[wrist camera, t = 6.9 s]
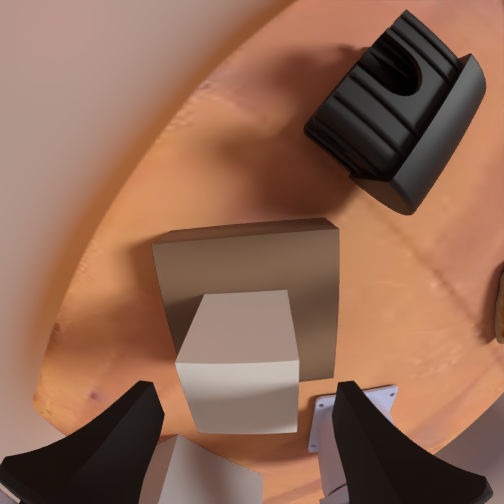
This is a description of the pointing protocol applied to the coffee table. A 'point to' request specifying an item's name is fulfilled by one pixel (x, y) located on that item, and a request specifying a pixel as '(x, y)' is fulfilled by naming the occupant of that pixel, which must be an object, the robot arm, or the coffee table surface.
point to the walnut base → (258, 278)
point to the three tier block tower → (197, 477)
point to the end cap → (400, 113)
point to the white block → (241, 364)
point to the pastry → (500, 313)
